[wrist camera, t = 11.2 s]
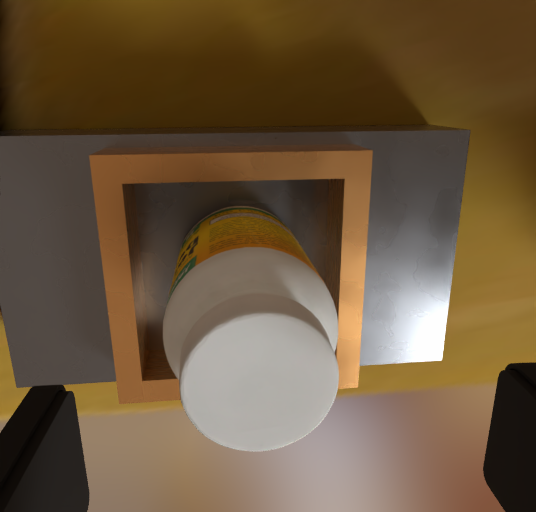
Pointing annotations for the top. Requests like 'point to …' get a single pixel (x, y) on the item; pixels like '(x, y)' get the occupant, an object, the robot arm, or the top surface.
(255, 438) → the supplement bottle
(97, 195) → the gray brown rimmed box
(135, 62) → the top surface
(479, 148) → the top surface
